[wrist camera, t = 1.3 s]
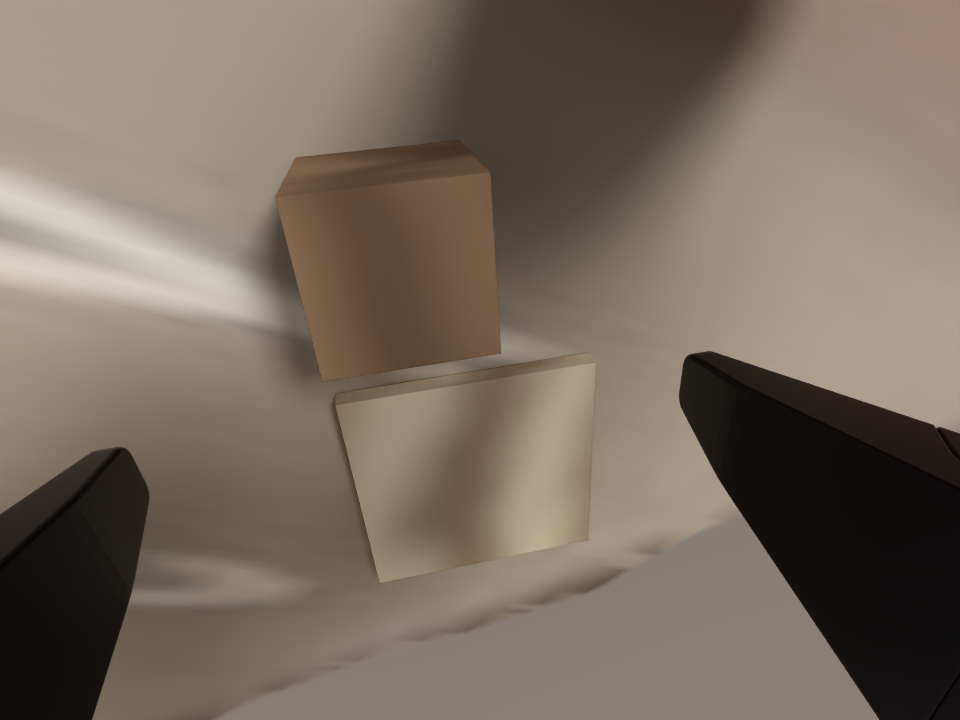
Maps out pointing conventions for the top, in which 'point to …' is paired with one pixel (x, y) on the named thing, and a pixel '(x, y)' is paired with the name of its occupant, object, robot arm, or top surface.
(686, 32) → the top surface
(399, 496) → the birch coaster
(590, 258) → the top surface
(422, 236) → the walnut cube
